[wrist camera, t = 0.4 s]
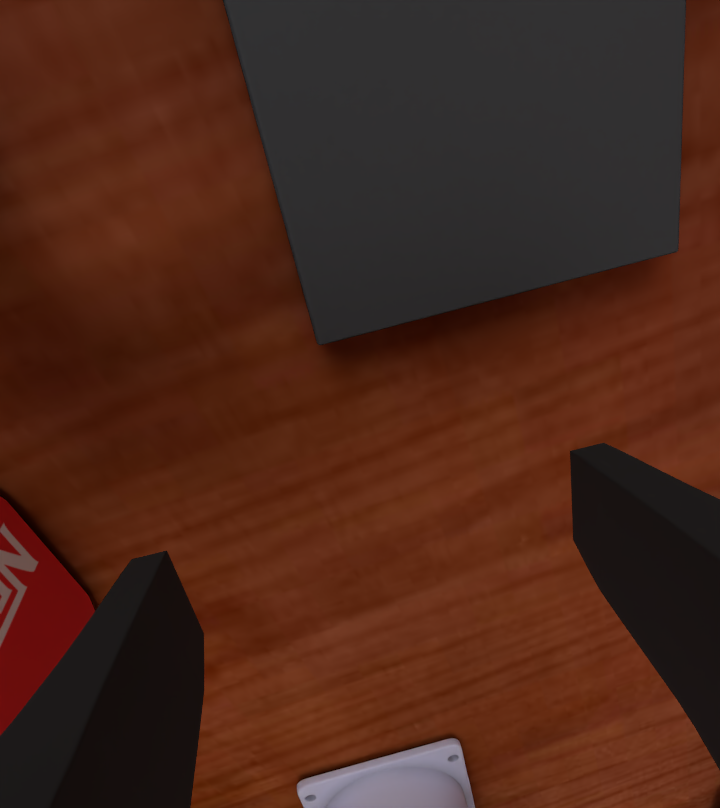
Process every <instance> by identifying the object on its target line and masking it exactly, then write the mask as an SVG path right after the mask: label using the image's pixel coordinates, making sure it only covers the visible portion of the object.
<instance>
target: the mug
mask: <svg viewBox="0 0 720 808" xmlns="http://www.w3.org/2000/svg"><path fill="white" fill-rule="evenodd" d="M94 612H95V609H94V607H93V605H92V602H91V600H90V598H89V596H88V594H87V593H86V592H85V591H84V590H83V589H82V588H81V586H80V585H79V584H78V583H77V582H76V581H75V579H74V578H73V577H72V576H71V575H70V574H69V572H68V571H67V570H66V569H65V568H64V567H63V565H62V564H61V563H60V562H59V561H58V560H57V558H56V557H55V556H54V555H53V554H52V553H51V552H50V550H49V549H48V548H47V547H46V546H45V545H44V543H43V542H42V541H41V540H40V539H39V538H38V536H37V535H36V534H35V533H34V532H33V531H32V529H31V528H30V527H29V526H28V525H27V524H26V523H25V521H24V520H23V519H22V518H21V517H20V516H19V514H18V513H17V512H16V511H15V510H14V509H13V507H12V506H11V505H10V504H9V503H8V502H7V501H6V500H5V499H4V498H2V497H1V496H0V735H1V734H2V733H3V732H4V731H5V730H6V728H7V727H8V726H9V725H10V724H11V722H12V721H13V720H14V719H15V718H16V716H17V715H18V714H19V712H20V711H21V710H22V709H23V707H24V706H25V705H26V703H27V702H28V701H29V700H30V698H31V697H32V696H33V694H34V693H35V692H36V691H37V689H38V688H39V687H40V686H41V684H42V683H43V682H44V680H45V679H46V678H47V677H48V675H49V674H50V673H51V671H52V670H53V669H54V668H55V666H56V665H57V664H58V662H59V661H60V660H61V658H62V657H63V656H64V654H65V653H66V652H67V650H68V649H69V647H70V646H71V645H72V643H73V642H74V640H75V639H76V638H77V636H78V635H79V633H80V632H81V631H82V629H83V628H84V626H85V625H86V624H87V622H88V621H89V619H90V618H91V617H92V615H93V614H94Z"/></svg>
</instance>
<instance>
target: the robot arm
mask: <svg viewBox="0 0 720 808" xmlns="http://www.w3.org/2000/svg"><path fill="white" fill-rule="evenodd" d="M570 460H571V488H572V515H573V540H574V542H575V544H576V546H577V548H578V550H579V552H580V554H581V556H582V558H583V560H584V562H585V563H586V565H587V567H588V569H589V571H590V573H591V575H592V576H593V578H594V580H595V582H596V584H597V586H598V587H599V589H600V591H601V592H602V594H603V595H604V597H605V598H606V599H607V601H608V602H609V604H610V605H611V607H612V608H613V610H614V611H615V612H616V614H617V615H618V617H619V618H620V620H621V621H622V622H623V624H624V625H625V627H626V628H627V630H628V631H629V632H630V634H631V635H632V637H633V638H634V639H635V641H636V642H637V644H638V645H639V646H640V648H641V649H642V651H643V652H644V653H645V655H646V656H647V658H648V659H649V661H650V662H651V663H652V665H653V666H654V668H655V669H656V670H657V672H658V673H659V675H660V676H661V677H662V679H663V680H664V682H665V683H666V685H667V686H668V687H669V689H670V690H671V692H672V693H673V694H674V696H675V697H676V699H677V700H678V702H679V703H680V705H681V706H682V708H683V709H684V711H685V712H686V714H687V715H688V717H689V719H690V720H691V722H692V723H693V725H694V726H695V728H696V730H697V731H698V733H699V735H700V737H701V738H702V740H703V742H704V744H705V745H706V747H707V749H708V750H709V752H710V754H711V756H712V757H713V759H714V761H715V763H716V764H717V766H718V768H719V770H720V499H718V498H715V497H713V496H711V495H709V494H707V493H705V492H703V491H701V490H699V489H697V488H694V487H692V486H690V485H688V484H686V483H684V482H682V481H680V480H678V479H676V478H674V477H672V476H670V475H668V474H666V473H664V472H662V471H660V470H658V469H656V468H654V467H652V466H650V465H648V464H646V463H644V462H642V461H640V460H638V459H636V458H634V457H632V456H630V455H628V454H626V453H624V452H622V451H620V450H618V449H616V448H614V447H612V446H609V445H607V444H605V443H601V444H597V445H593V446H589V447H585V448H581V449H577V450H573V451H570ZM203 695H204V633H203V631H202V628H201V626H200V624H199V622H198V619H197V617H196V615H195V613H194V610H193V608H192V606H191V604H190V602H189V599H188V597H187V595H186V593H185V590H184V588H183V586H182V584H181V581H180V579H179V577H178V575H177V572H176V570H175V568H174V566H173V564H172V561H171V559H170V557H169V555H168V552H167V551H163V552H159V553H155V554H151V555H147V556H143V557H139V558H135V559H132V560H131V561H130V563H129V564H128V565H127V567H126V568H125V569H124V571H123V572H122V573H121V575H120V576H119V578H118V579H117V581H116V582H115V583H114V585H113V586H112V588H111V589H110V591H109V592H108V594H107V595H106V596H105V598H104V599H103V601H102V602H101V604H100V605H99V607H98V608H97V609H96V611H95V612H94V614H93V615H92V617H91V618H90V619H89V621H88V622H87V624H86V625H85V626H84V628H83V629H82V631H81V632H80V633H79V635H78V636H77V638H76V639H75V640H74V642H73V643H72V645H71V646H70V647H69V649H68V650H67V652H66V653H65V654H64V656H63V657H62V658H61V660H60V661H59V662H58V664H57V665H56V666H55V668H54V669H53V670H52V671H51V673H50V674H49V675H48V677H47V678H46V679H45V680H44V682H43V683H42V684H41V686H40V687H39V688H38V689H37V691H36V692H35V693H34V694H33V696H32V697H31V698H30V700H29V701H28V702H27V703H26V705H25V706H24V707H23V709H22V710H21V711H20V712H19V714H18V715H17V716H16V718H15V719H14V720H13V721H12V722H11V724H10V725H9V726H8V727H7V728H6V730H5V731H4V732H3V733H2V734H1V735H0V808H190V805H191V797H192V789H193V781H194V772H195V764H196V756H197V748H198V740H199V731H200V722H201V714H202V705H203ZM297 794H298V796H299V799H300V801H301V803H302V805H303V807H304V808H475V804H474V800H473V795H472V791H471V787H470V782H469V778H468V774H467V769H466V765H465V761H464V757H463V752H462V748H461V745H460V742H459V740H457V739H455V738H449V739H445V740H441V741H438V742H434V743H431V744H427V745H424V746H420V747H416V748H413V749H409V750H406V751H402V752H398V753H395V754H391V755H388V756H384V757H381V758H377V759H373V760H370V761H366V762H363V763H359V764H356V765H352V766H348V767H345V768H341V769H338V770H334V771H330V772H327V773H323V774H320V775H316V776H313V777H309V778H305V779H303V780H301V781H300V782H299V783H298V784H297Z"/></svg>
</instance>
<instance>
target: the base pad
mask: <svg viewBox="0 0 720 808" xmlns="http://www.w3.org/2000/svg"><path fill="white" fill-rule="evenodd" d="M223 2H224V6H225V9H226V13H227V16H228V20H229V24H230V27H231V31H232V35H233V38H234V42H235V46H236V49H237V53H238V57H239V60H240V64H241V67H242V71H243V75H244V78H245V82H246V86H247V89H248V93H249V97H250V100H251V104H252V108H253V111H254V115H255V119H256V122H257V126H258V129H259V133H260V137H261V140H262V144H263V148H264V151H265V155H266V159H267V162H268V166H269V170H270V173H271V177H272V180H273V184H274V188H275V191H276V195H277V199H278V202H279V206H280V210H281V213H282V217H283V221H284V224H285V228H286V231H287V235H288V239H289V242H290V246H291V250H292V253H293V257H294V261H295V264H296V268H297V272H298V275H299V279H300V283H301V286H302V290H303V293H304V297H305V301H306V304H307V308H308V312H309V315H310V319H311V323H312V326H313V330H314V334H315V337H316V341H317V344H318V345H324V344H327V343H331V342H335V341H339V340H343V339H346V338H350V337H354V336H358V335H362V334H365V333H369V332H373V331H377V330H381V329H385V328H388V327H392V326H396V325H400V324H404V323H407V322H411V321H415V320H419V319H423V318H427V317H430V316H434V315H438V314H442V313H446V312H449V311H453V310H457V309H461V308H465V307H468V306H472V305H476V304H480V303H484V302H488V301H491V300H495V299H499V298H503V297H507V296H510V295H514V294H518V293H522V292H526V291H529V290H533V289H537V288H541V287H545V286H549V285H552V284H556V283H560V282H564V281H568V280H571V279H575V278H579V277H583V276H587V275H590V274H594V273H598V272H602V271H606V270H610V269H613V268H617V267H621V266H625V265H629V264H632V263H636V262H640V261H644V260H648V259H652V258H655V257H659V256H663V255H667V254H671V253H674V252H677V251H678V244H679V212H680V179H681V146H682V113H683V80H684V48H685V15H686V0H223Z"/></svg>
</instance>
